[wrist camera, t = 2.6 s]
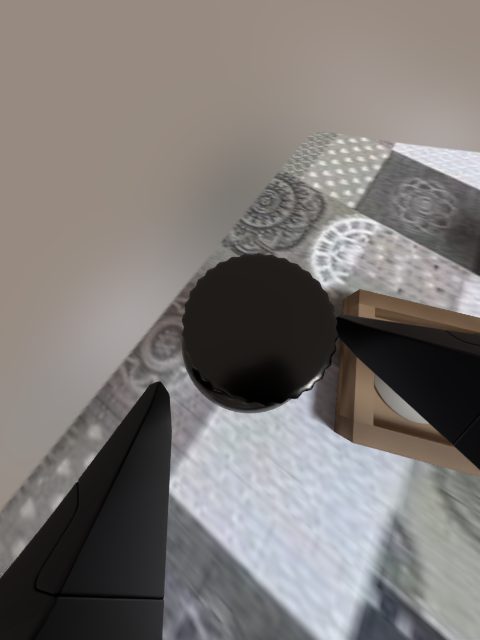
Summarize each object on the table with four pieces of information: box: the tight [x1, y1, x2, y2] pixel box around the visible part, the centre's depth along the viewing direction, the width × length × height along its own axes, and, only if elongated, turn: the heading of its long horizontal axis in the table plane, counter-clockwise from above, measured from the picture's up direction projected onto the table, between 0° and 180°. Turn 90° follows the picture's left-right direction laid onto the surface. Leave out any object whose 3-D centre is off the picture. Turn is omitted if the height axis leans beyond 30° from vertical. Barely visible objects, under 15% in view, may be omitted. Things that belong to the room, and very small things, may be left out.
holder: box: [334, 289, 480, 477], centre depth 15 cm, size 13×13×2 cm
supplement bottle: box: [182, 253, 338, 413], centre depth 11 cm, size 7×7×12 cm
